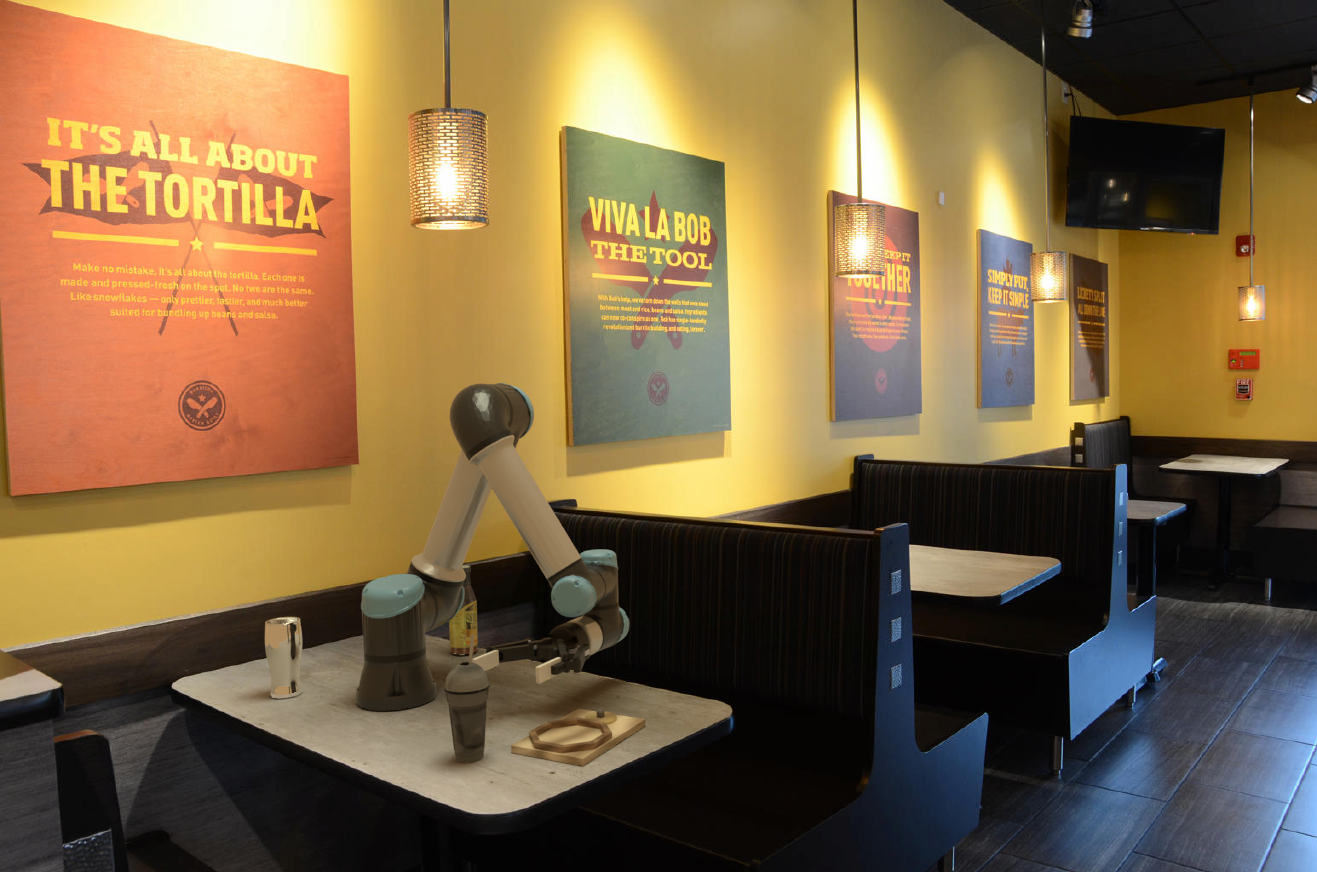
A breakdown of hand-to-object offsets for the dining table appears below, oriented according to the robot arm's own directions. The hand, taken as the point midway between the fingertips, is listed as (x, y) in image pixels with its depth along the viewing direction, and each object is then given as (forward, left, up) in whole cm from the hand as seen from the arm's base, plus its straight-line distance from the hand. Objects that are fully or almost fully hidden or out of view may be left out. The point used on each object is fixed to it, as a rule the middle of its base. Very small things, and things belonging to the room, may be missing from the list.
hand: (504, 671), depth 165 cm
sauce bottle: (-43, +40, -12) cm, 60 cm away
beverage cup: (0, -10, -12) cm, 15 cm away
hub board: (+12, +5, -12) cm, 17 cm away
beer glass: (-56, +1, -12) cm, 57 cm away
